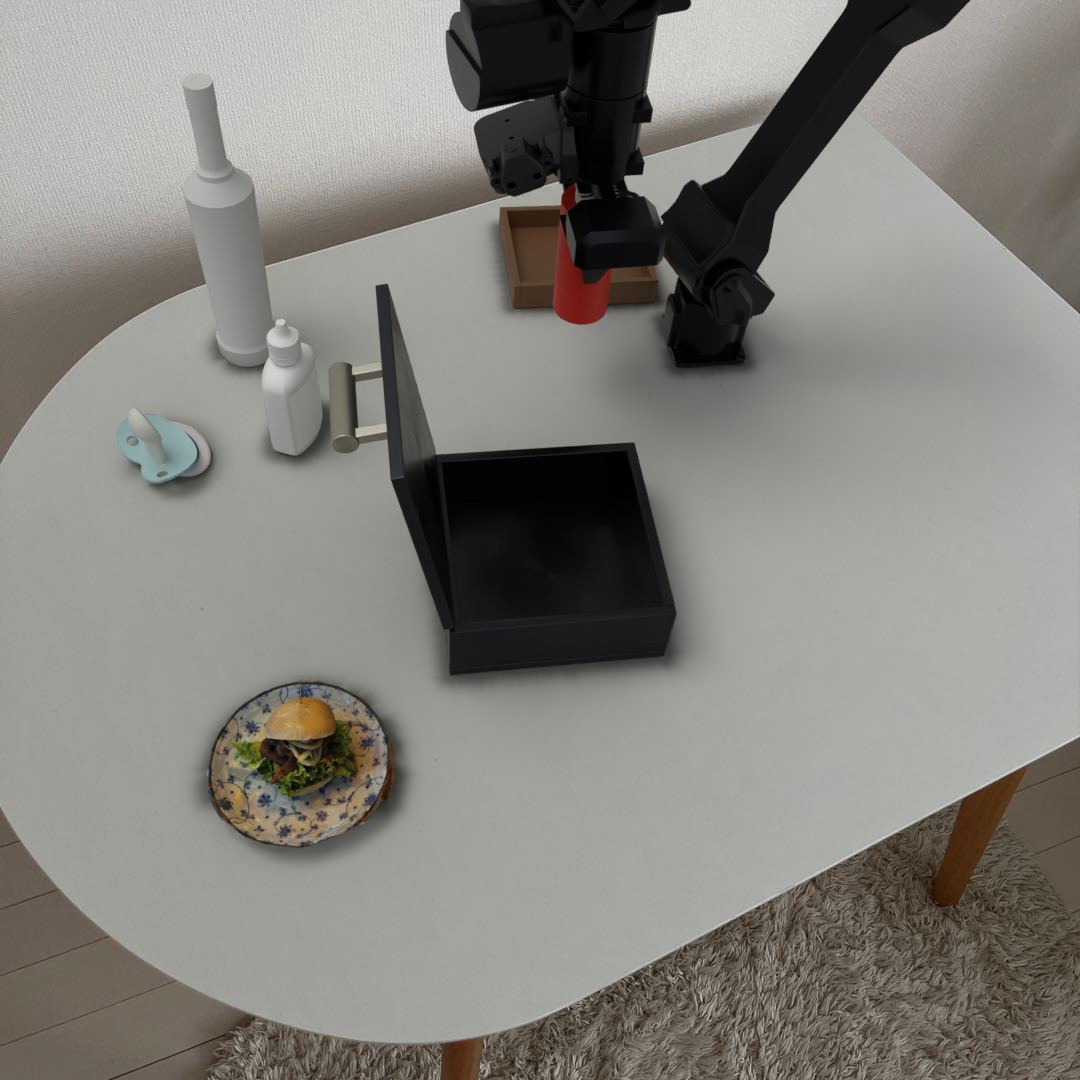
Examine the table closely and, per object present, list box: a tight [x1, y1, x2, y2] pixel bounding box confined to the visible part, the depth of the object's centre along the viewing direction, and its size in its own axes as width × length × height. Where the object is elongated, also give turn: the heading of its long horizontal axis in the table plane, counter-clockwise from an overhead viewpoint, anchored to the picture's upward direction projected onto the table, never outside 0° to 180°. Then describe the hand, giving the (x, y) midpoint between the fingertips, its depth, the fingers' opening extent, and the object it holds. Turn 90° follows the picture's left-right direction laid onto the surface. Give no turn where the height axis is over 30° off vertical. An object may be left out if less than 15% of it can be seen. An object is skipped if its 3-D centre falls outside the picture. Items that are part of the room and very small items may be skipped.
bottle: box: [181, 72, 276, 368], centre depth 86 cm, size 5×5×25 cm
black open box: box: [436, 441, 678, 676], centre depth 82 cm, size 16×16×6 cm
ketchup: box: [552, 184, 619, 326], centre depth 85 cm, size 4×4×12 cm
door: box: [327, 283, 455, 631], centre depth 71 cm, size 16×16×4 cm
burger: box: [206, 679, 395, 849], centre depth 71 cm, size 12×12×8 cm
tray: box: [498, 204, 659, 309], centre depth 104 cm, size 13×11×3 cm
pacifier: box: [115, 407, 212, 484], centre depth 86 cm, size 7×6×6 cm
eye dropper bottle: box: [261, 318, 323, 456], centre depth 86 cm, size 4×6×12 cm
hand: (583, 262), depth 86 cm, fingers closed on ketchup, 4 cm apart
